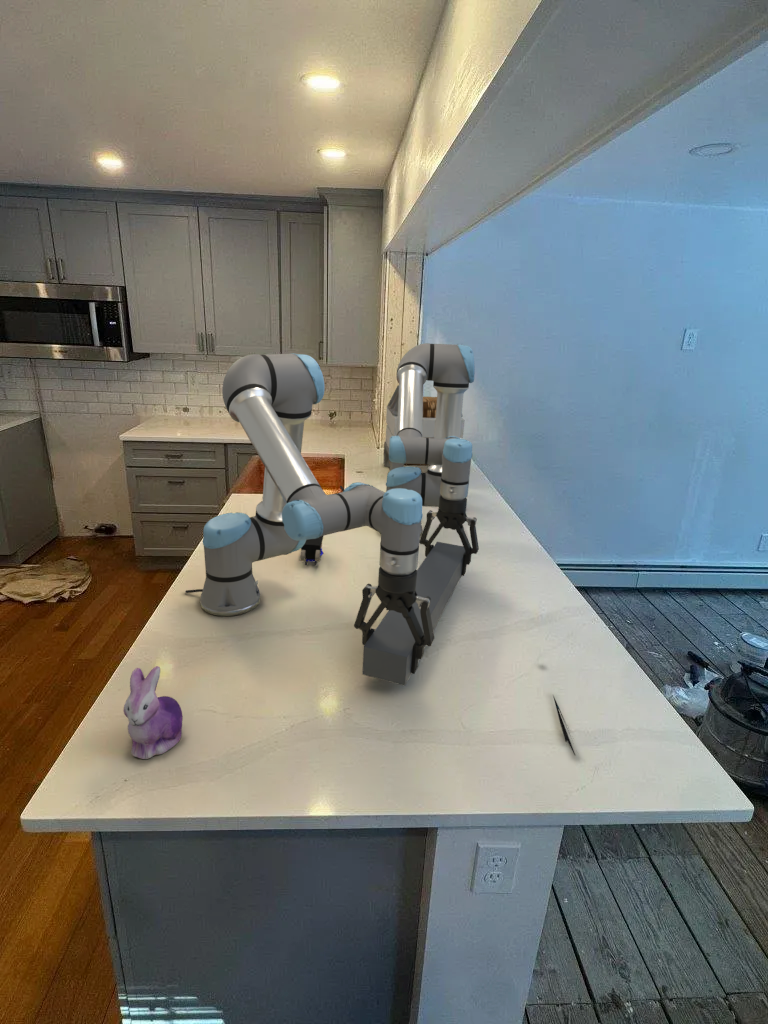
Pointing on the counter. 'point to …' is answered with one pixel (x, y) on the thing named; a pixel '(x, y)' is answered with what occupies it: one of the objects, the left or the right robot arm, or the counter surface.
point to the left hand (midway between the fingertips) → (391, 663)
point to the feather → (563, 726)
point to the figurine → (151, 716)
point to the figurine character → (312, 550)
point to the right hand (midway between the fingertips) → (446, 570)
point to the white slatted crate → (427, 430)
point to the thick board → (393, 638)
